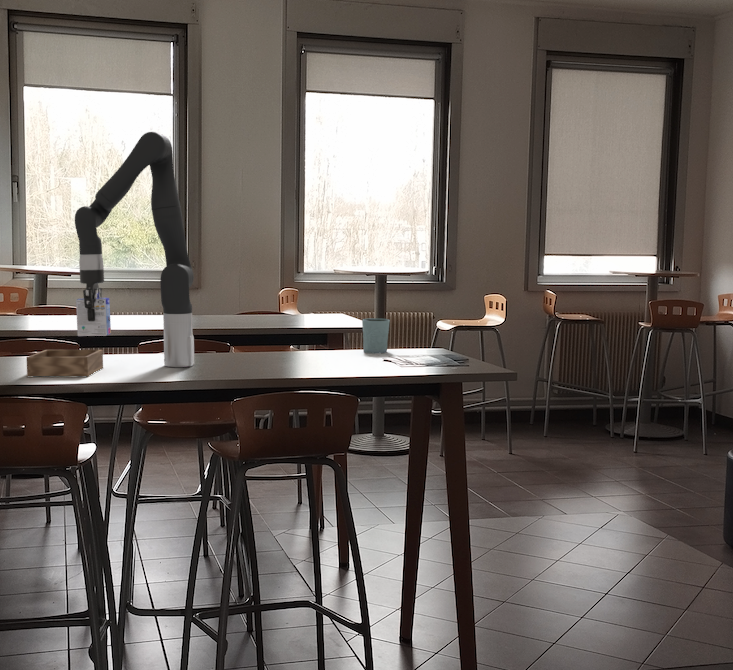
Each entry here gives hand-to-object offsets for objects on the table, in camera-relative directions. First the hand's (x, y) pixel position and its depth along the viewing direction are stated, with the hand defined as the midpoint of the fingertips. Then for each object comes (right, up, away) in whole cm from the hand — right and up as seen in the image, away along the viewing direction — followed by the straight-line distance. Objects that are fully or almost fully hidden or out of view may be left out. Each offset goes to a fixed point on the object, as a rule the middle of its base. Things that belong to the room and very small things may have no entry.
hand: (94, 320), depth 299 cm
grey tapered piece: (+93, -11, +37) cm, 100 cm away
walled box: (-4, -16, -16) cm, 24 cm away
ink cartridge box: (0, -5, +1) cm, 5 cm away
